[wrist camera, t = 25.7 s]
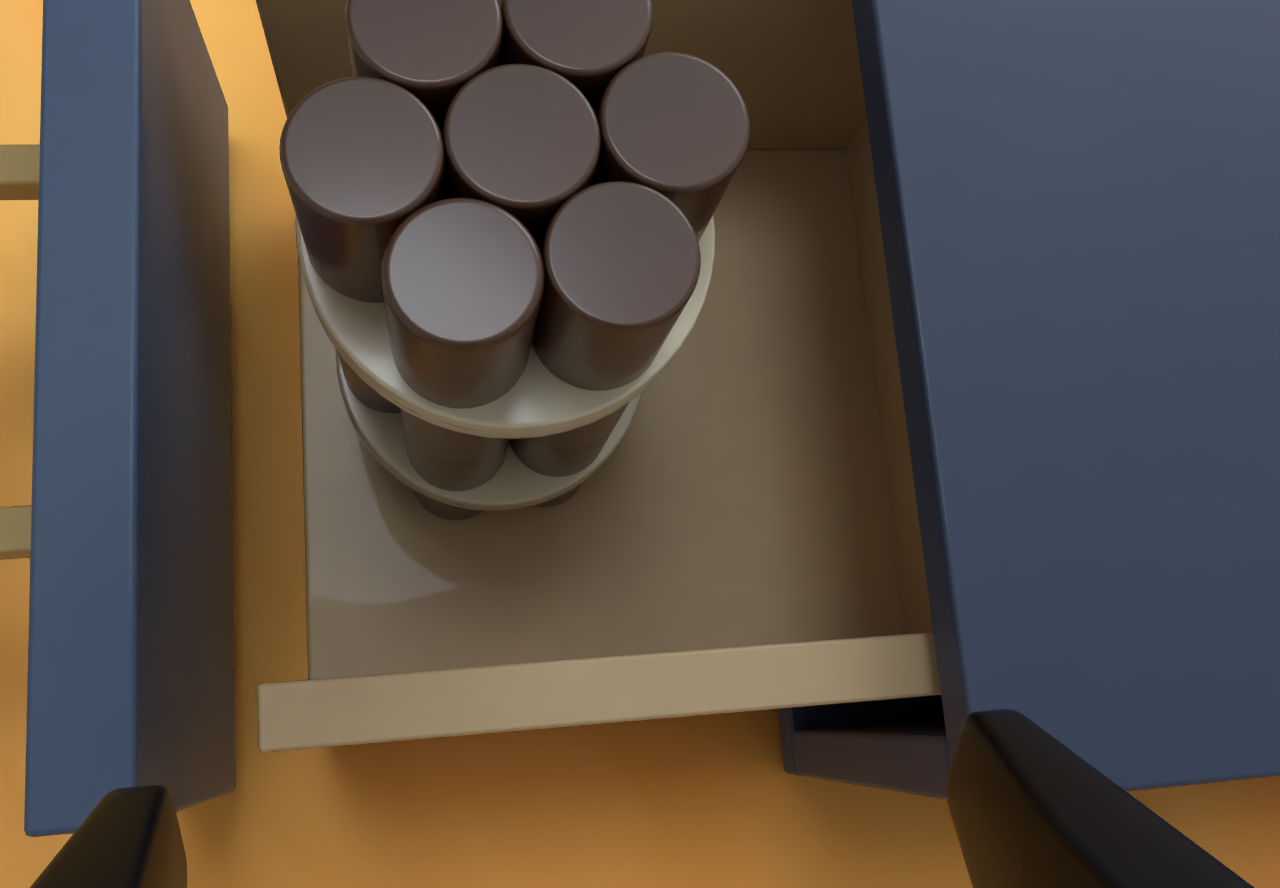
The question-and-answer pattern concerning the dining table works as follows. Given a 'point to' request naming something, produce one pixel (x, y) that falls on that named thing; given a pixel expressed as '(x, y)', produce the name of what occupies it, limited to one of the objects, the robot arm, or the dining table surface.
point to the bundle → (507, 233)
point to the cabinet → (1081, 381)
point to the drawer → (388, 509)
